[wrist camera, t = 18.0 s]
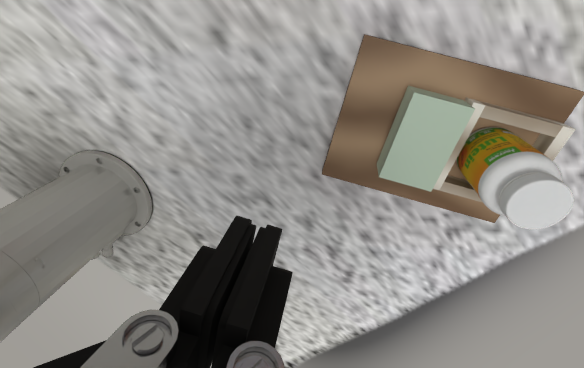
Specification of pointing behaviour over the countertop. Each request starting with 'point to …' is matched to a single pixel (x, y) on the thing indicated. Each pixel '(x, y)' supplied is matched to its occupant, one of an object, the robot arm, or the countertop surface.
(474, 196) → the board
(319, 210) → the countertop surface
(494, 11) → the countertop surface
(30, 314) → the robot arm
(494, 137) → the supplement bottle
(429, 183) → the block
